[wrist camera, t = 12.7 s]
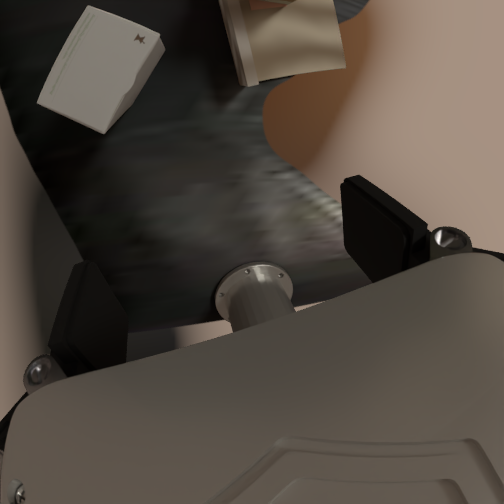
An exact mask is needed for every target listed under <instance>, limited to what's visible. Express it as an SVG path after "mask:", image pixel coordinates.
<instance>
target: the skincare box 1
mask: <svg viewBox="0 0 504 504" xmlns="http://www.w3.org/2000/svg"><path fill="white" fill-rule="evenodd" d="M164 51H165V47H164V45H163V43H162V41H161V39H160V34H159V33H156V32H154V31H152V30H150V29H148V28H146V27H143V26H141V25H139V24H136V23H134V22H132V21H129V20H127V19H124V18H122V17H119V16H116V15H114V14H111V13H109V12H106V11H103V10H100V9H97V8H94V7H91V6H87V7H86V9H85V11H84V12H83V14H82V15H81V17H80V19H79V20H78V22H77V23H76V25H75V27H74V28H73V30H72V32H71V34H70V35H69V37H68V39H67V40H66V42H65V44H64V46H63V48H62V50H61V51H60V53H59V55H58V57H57V59H56V61H55V63H54V65H53V67H52V69H51V71H50V73H49V76H48V78H47V80H46V82H45V84H44V87H43V89H42V91H41V94H40V96H39V99H38V101H37V103H38V104H40V105H42V106H44V107H46V108H48V109H50V110H52V111H54V112H57V113H59V114H61V115H63V116H65V117H67V118H70V119H72V120H74V121H76V122H78V123H80V124H83V125H85V126H87V127H89V128H91V129H93V130H96V131H98V132H100V133H102V134H105V133H106V132H107V131H108V129H109V128H110V127H111V126H112V125H113V124H114V123H115V122H116V121H117V120H118V119H119V118H120V117H121V115H122V114H123V113H124V112H125V111H126V110H127V109H128V108H129V107H130V106H131V105H132V104H133V102H134V101H135V99H136V97H137V96H138V94H139V92H140V91H141V89H142V88H143V86H144V84H145V83H146V81H147V79H148V78H149V76H150V74H151V73H152V71H153V69H154V68H155V66H156V65H157V63H158V61H159V60H160V58H161V56H162V55H163V53H164Z"/></svg>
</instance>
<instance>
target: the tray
mask: <svg viewBox="0 0 504 504" xmlns="http://www.w3.org/2000/svg"><path fill="white" fill-rule="evenodd" d="M218 1H219V5H220V9H221V13H222V17H223V21H224V24H225V28H226V32H227V36H228V40H229V44H230V48H231V52H232V56H233V60H234V65H235V69H236V73H237V77H238V81H239V85H241V86H247V87H249V86H253V85H258V84H259V82H258V81H263V80H268V79H273V78H278V77H284V76H290V75H296V74H302V73H309V72H316V71H324V70H332V69H341V68H346V64H345V58H344V52H343V47H342V41H341V36H340V31H339V26H338V21H337V17H336V12H335V8H334V3H333V0H296V1H294V2H292V3H290V4H288V5H287V4H280V3H274V2H267V1H260V0H218Z"/></svg>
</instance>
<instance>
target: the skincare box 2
mask: <svg viewBox="0 0 504 504" xmlns="http://www.w3.org/2000/svg"><path fill="white" fill-rule="evenodd" d="M260 1H267V2H274V3H280V4H287V5H288V4H290V3H292V2H294V1H296V0H260Z"/></svg>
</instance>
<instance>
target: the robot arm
mask: <svg viewBox="0 0 504 504" xmlns="http://www.w3.org/2000/svg"><path fill="white" fill-rule="evenodd" d="M340 190H341V203H342V217H343V234H344V246H345V249H346V251H347V253H348V254H349V255H350V256H351V257H352V258H353V260H354V261H355V262H356V263H357V264H358V266H359V267H360V268H361V269H362V270H363V271H364V273H365V274H366V275H367V276H368V277H369V279H370V280H371V281H372V282H373V284H370V285H367V286H365V287H362V288H360V289H357V290H355V291H352V292H349V293H347V294H344V295H341V296H339V297H336V298H333V299H330V300H328V301H325V302H322V303H320V304H317V305H314V306H311V307H309V308H306V309H303V310H300V311H297V312H296V311H295V309H294V307H293V305H292V303H291V301H290V299H291V297H292V293H293V285H292V282H291V279H290V277H289V275H288V274H287V273H286V271H285V270H284V269H282V268H281V267H280V266H278V265H275V264H273V263H269V262H252V263H248V264H244V265H242V266H239V267H237V268H235V269H234V270H232V271H231V272H229V273H228V274H227V275H226V276H225V277H224V278H223V279H222V280H221V282H220V283H219V285H218V287H217V289H216V293H215V304H216V308H217V310H218V313H219V314H220V315H221V316H222V317H223V318H224V319H225V320H226V321H228V322H230V323H231V326H232V330H233V333H231V334H227V335H224V336H221V337H217V338H214V339H211V340H207V341H204V342H201V343H197V344H194V345H190V346H187V347H183V348H180V349H177V350H173V351H169V352H165V353H162V354H158V355H154V356H151V357H147V358H143V359H140V360H136V361H132V362H128V363H126V353H127V352H126V351H127V336H128V317H127V314H126V312H125V311H124V309H123V308H122V306H121V305H120V303H119V301H118V300H117V298H116V297H115V295H114V293H113V292H112V290H111V288H110V287H109V285H108V283H107V282H106V280H105V278H104V277H103V275H102V273H101V272H100V270H99V268H98V266H97V265H96V263H95V262H92V263H91V262H90V261H89V260H86V261H83V262H81V263H78V264H75V265H74V267H73V269H72V272H71V275H70V278H69V280H68V283H67V286H66V289H65V291H64V294H63V297H62V300H61V303H60V306H59V309H58V312H57V315H56V319H55V322H54V325H53V329H52V332H51V335H50V339H49V343H48V346H49V348H50V349H51V354H50V355H49V354H42V355H40V356H38V357H36V358H35V359H33V360H32V361H31V363H30V364H29V365H28V367H27V369H26V370H25V373H24V378H23V382H24V386H25V388H26V390H27V392H26V393H25V394H24V395H23V396H22V397H21V398H20V400H19V401H18V402H17V403H16V404H15V405H14V406H13V407H12V409H11V410H10V411H9V412H8V414H7V415H6V416H5V417H4V418H3V419H2V420H1V421H0V504H504V254H503V253H499V252H493V251H488V250H483V249H478V248H473V247H472V243H471V240H470V237H469V236H468V235H467V234H466V233H465V232H463V231H461V230H459V229H457V228H454V227H438V228H436V229H435V230H433V231H432V232H430V231H429V230H428V229H427V226H428V224H427V223H426V222H425V221H423V220H422V219H421V218H419V217H418V216H417V215H415V214H414V213H413V212H411V211H410V210H409V209H407V208H406V207H405V206H403V205H402V204H400V203H399V202H398V201H396V200H395V199H394V198H392V197H391V196H389V195H388V194H387V193H385V192H384V191H382V190H381V189H379V188H378V187H377V186H375V185H374V184H372V183H371V182H369V181H368V180H366V179H365V178H363V177H362V176H360V175H356V176H352V177H349V178H345V179H344V183H342V184H341V185H340Z"/></svg>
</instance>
